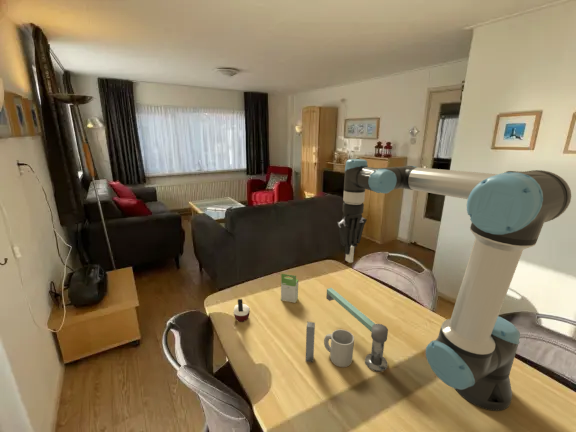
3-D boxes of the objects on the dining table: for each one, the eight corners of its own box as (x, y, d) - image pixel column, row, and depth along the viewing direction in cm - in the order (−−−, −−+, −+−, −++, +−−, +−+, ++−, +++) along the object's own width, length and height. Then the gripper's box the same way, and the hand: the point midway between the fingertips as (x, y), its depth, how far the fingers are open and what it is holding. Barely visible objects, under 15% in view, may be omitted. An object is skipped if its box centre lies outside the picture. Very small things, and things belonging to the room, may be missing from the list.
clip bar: (389, 344, 89) (391, 331, 87) (378, 349, 87) (379, 335, 85) (333, 296, 115) (334, 285, 113) (323, 299, 113) (324, 288, 111)
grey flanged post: (391, 364, 92) (394, 339, 89) (379, 375, 87) (382, 350, 85) (372, 351, 97) (375, 328, 94) (360, 362, 92) (363, 337, 90)
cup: (347, 371, 89) (349, 348, 86) (318, 358, 94) (319, 335, 91) (355, 356, 95) (357, 334, 92) (328, 345, 100) (329, 323, 97)
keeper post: (313, 357, 94) (314, 322, 91) (312, 362, 92) (314, 327, 88) (306, 356, 95) (307, 321, 91) (305, 361, 93) (306, 326, 89)
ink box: (298, 298, 128) (298, 271, 124) (295, 303, 124) (296, 276, 121) (283, 295, 130) (283, 269, 126) (280, 300, 126) (280, 273, 123)
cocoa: (239, 312, 118) (238, 286, 116) (253, 314, 117) (252, 288, 114) (229, 326, 109) (226, 298, 107) (243, 328, 108) (242, 300, 105)
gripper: (359, 198, 109) (354, 254, 116) (332, 202, 103) (329, 261, 110) (374, 202, 103) (368, 261, 110) (346, 206, 97) (342, 268, 103)
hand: (349, 261), depth 110 cm, fingers closed
